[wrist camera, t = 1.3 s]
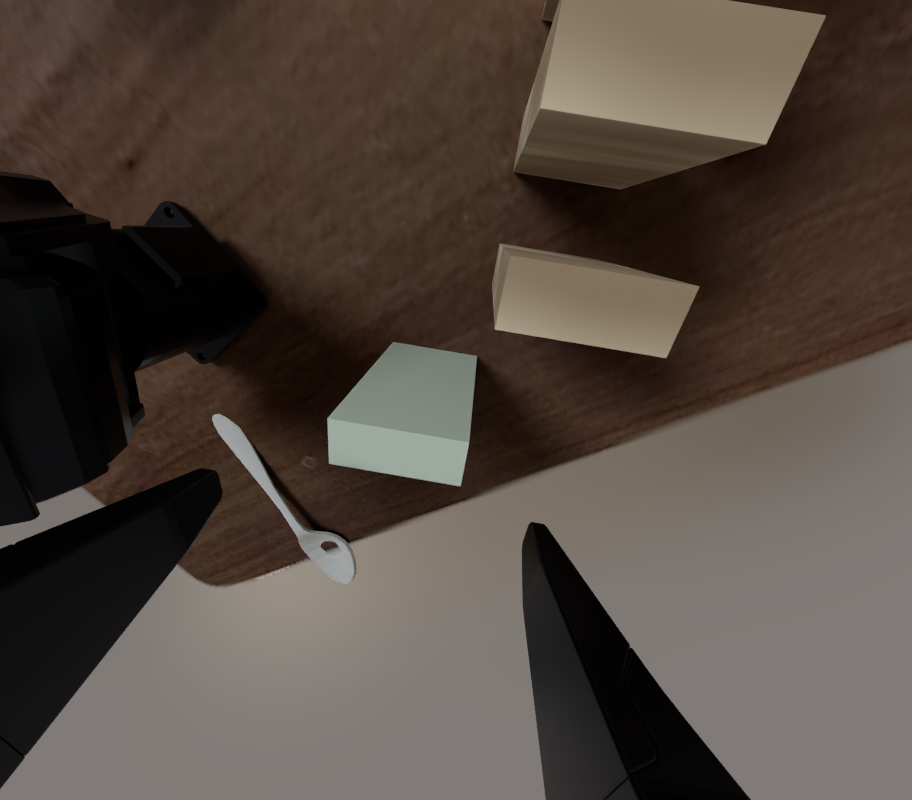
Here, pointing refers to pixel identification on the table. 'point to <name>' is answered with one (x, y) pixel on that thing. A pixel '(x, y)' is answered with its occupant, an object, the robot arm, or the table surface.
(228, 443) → the spoon
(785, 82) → the domino
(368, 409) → the domino
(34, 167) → the table surface
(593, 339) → the domino
